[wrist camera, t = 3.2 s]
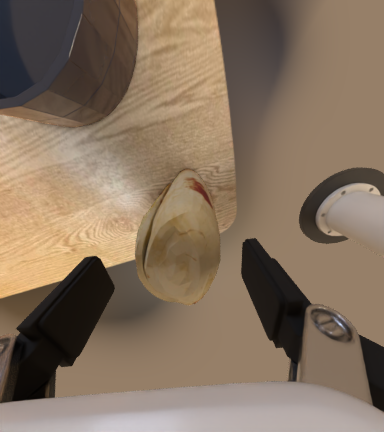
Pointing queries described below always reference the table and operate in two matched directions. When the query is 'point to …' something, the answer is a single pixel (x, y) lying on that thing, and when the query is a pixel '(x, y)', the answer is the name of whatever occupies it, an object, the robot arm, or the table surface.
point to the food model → (179, 242)
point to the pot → (65, 58)
